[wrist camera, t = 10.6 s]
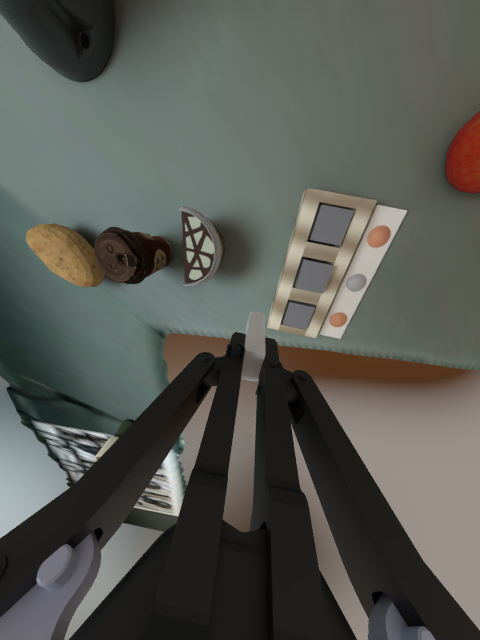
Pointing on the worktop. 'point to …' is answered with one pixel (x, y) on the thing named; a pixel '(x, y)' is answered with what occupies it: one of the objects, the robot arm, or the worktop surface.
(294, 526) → the robot arm
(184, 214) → the food container
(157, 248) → the coffee cup
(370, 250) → the pattern card
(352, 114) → the worktop surface
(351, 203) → the button board
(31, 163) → the worktop surface
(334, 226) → the button
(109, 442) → the character mug
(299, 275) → the middle button
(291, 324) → the button
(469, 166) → the apple
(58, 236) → the potato
